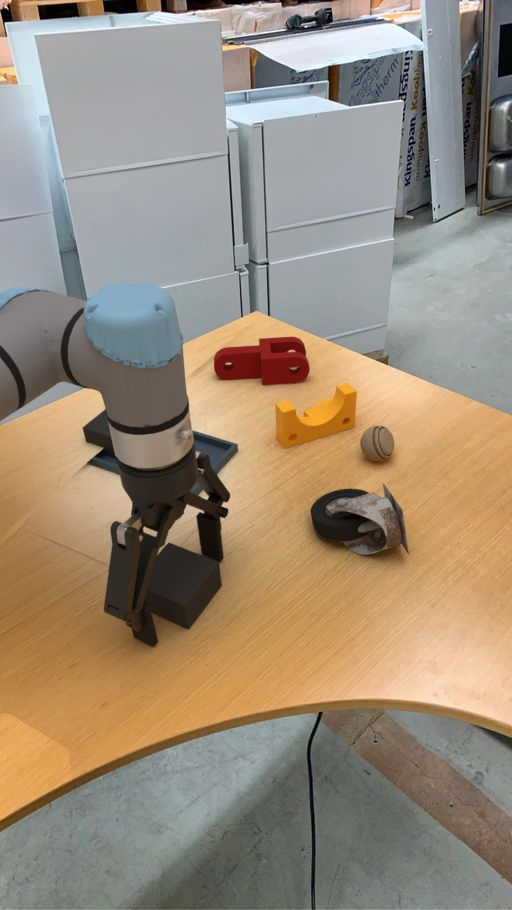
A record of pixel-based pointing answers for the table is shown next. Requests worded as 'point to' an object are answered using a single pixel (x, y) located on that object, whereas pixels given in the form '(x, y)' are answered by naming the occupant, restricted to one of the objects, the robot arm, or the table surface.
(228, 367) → the mechanical linkage
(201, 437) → the dark blue tray
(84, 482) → the table surface
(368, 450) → the tan ball
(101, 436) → the pad
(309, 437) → the pipe clamp
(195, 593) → the dark rectangular block
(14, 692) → the table surface
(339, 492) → the caster wheel
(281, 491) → the table surface
